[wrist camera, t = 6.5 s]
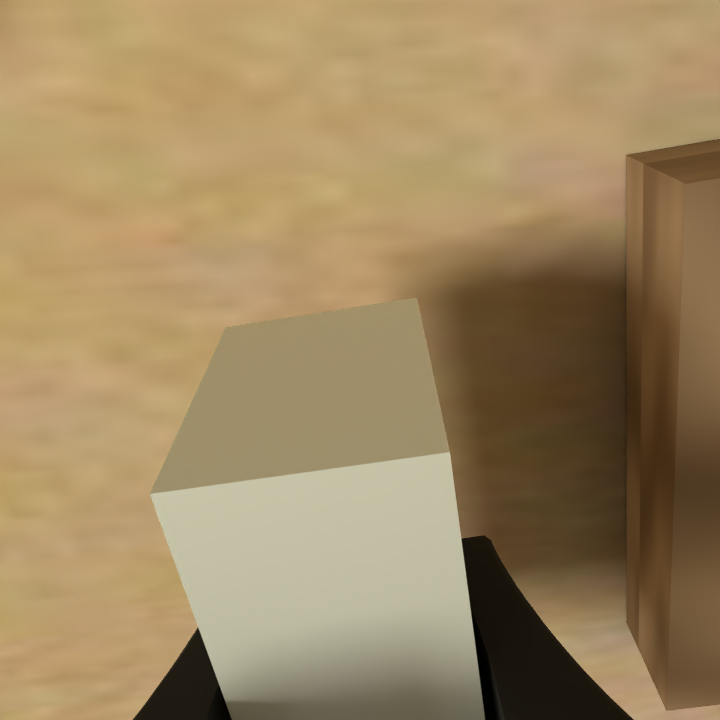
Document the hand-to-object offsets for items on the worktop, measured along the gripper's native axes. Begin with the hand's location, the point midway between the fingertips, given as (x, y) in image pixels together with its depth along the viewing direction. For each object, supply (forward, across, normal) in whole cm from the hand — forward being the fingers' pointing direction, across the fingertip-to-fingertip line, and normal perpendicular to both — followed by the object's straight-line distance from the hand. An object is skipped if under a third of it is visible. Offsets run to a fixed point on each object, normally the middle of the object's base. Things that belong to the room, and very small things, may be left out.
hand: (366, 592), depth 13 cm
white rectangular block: (+2, 0, 0) cm, 2 cm away
